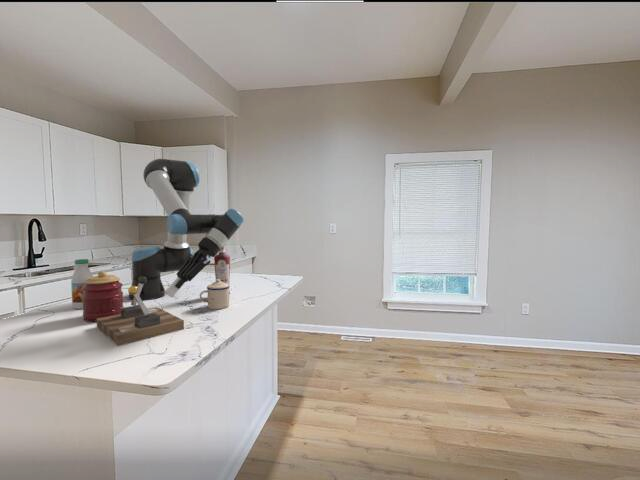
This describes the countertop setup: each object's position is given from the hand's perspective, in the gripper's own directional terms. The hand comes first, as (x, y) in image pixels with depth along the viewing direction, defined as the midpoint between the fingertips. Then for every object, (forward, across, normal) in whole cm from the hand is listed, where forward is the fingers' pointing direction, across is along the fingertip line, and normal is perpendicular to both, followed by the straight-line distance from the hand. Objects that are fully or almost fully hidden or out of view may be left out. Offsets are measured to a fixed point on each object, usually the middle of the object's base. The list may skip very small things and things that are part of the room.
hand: (168, 294), depth 113 cm
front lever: (+9, 0, +1) cm, 9 cm away
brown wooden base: (+13, +7, -3) cm, 15 cm away
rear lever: (+9, +14, +1) cm, 17 cm away
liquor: (-17, +27, -34) cm, 46 cm away
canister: (+17, +30, 0) cm, 34 cm away
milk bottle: (+19, +51, +2) cm, 54 cm away
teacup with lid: (-8, +12, -25) cm, 29 cm away
